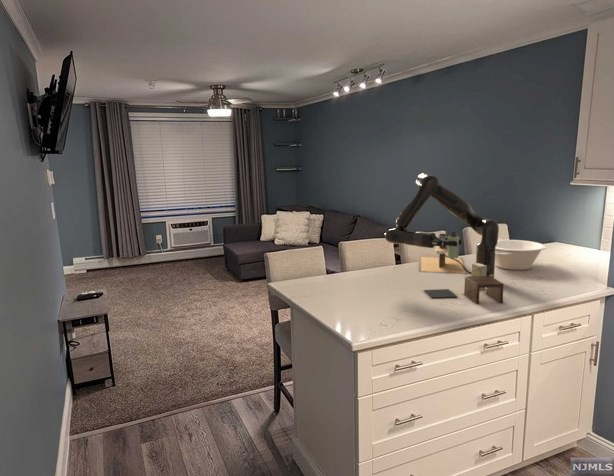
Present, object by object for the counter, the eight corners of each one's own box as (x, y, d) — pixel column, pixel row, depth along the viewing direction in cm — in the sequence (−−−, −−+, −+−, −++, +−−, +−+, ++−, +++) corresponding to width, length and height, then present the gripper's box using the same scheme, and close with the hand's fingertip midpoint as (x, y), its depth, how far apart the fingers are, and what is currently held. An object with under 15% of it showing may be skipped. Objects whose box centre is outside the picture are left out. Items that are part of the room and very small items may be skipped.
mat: (424, 290, 214) (424, 290, 214) (448, 290, 214) (448, 289, 214) (431, 298, 202) (431, 297, 202) (457, 297, 202) (457, 296, 202)
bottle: (445, 256, 205) (446, 231, 202) (455, 255, 205) (456, 231, 203) (449, 258, 200) (450, 232, 198) (459, 257, 200) (460, 232, 198)
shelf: (464, 294, 206) (464, 276, 205) (488, 293, 207) (489, 275, 205) (476, 304, 192) (477, 284, 191) (502, 303, 193) (503, 283, 191)
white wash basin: (502, 256, 283) (503, 236, 281) (557, 265, 257) (559, 243, 255) (467, 268, 256) (468, 246, 253) (525, 278, 230) (526, 254, 228)
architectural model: (466, 273, 245) (467, 239, 242) (420, 271, 252) (421, 238, 248) (461, 258, 281) (462, 228, 278) (421, 257, 288) (422, 228, 285)
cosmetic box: (470, 286, 218) (471, 263, 216) (477, 285, 220) (478, 262, 218) (479, 290, 213) (480, 266, 211) (486, 289, 214) (487, 265, 212)
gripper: (418, 234, 204) (454, 237, 193) (430, 230, 215) (464, 232, 204) (418, 249, 205) (453, 253, 195) (429, 244, 216) (463, 248, 206)
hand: (458, 243), depth 200 cm, fingers closed on bottle, 5 cm apart
